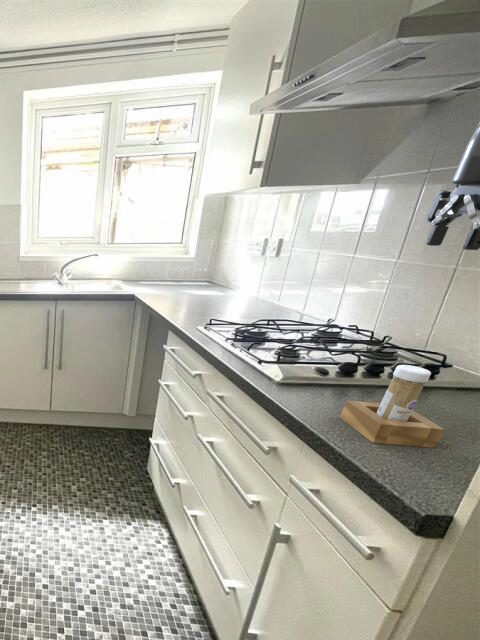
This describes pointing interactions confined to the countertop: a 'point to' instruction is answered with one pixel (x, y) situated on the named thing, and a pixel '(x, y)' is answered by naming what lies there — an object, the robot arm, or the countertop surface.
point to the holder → (390, 426)
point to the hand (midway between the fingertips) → (450, 247)
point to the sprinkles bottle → (403, 392)
